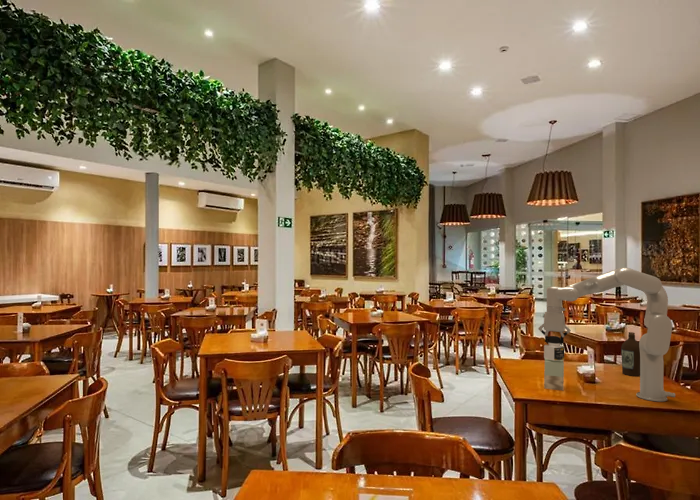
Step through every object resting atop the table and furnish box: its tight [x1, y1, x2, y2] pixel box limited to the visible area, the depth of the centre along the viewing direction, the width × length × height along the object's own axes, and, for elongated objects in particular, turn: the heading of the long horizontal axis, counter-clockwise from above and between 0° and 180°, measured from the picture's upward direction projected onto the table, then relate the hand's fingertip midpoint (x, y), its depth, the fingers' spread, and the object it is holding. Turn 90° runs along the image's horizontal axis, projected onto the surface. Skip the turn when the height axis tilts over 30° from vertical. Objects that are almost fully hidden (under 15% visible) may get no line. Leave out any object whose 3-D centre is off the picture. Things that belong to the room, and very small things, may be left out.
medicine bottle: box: [543, 335, 565, 361], centre depth 238 cm, size 7×7×12 cm
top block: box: [544, 358, 565, 378], centre depth 238 cm, size 9×9×7 cm
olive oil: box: [620, 331, 640, 377], centre depth 269 cm, size 11×11×25 cm
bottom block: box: [543, 370, 565, 391], centre depth 238 cm, size 9×9×7 cm
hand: (554, 343), depth 238 cm, fingers open, 6 cm apart
